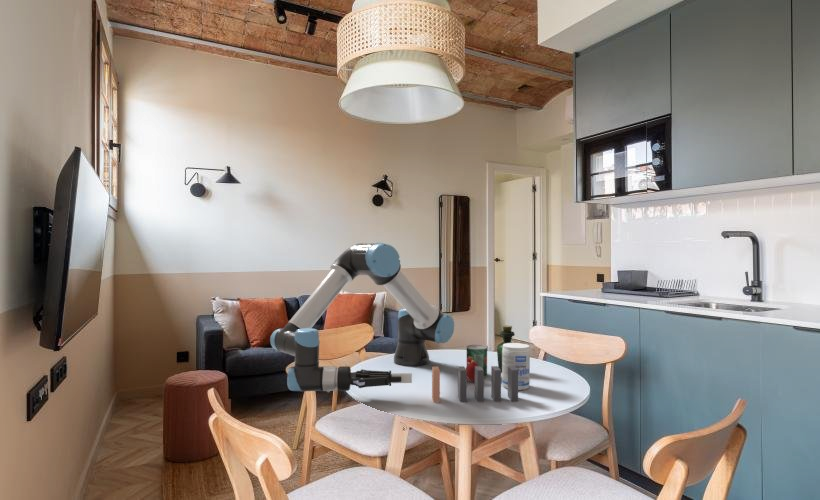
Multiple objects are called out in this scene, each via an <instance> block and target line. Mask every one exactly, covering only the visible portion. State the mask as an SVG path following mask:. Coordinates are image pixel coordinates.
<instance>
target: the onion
mask: <svg viewBox="0 0 820 500" xmlns="http://www.w3.org/2000/svg"><path fill="white" fill-rule="evenodd" d="M475 366H479V365H478V364H476V363H475V362H474V361H473V360H472V361H471V363H470V364H469V365H468V366H467V365H466V366H465V369H466V370H467V380H469V381H470V382H471V383H475Z"/></svg>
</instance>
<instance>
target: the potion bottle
mask: <svg viewBox="0 0 820 500" xmlns="http://www.w3.org/2000/svg"><path fill="white" fill-rule="evenodd" d="M512 329H513V326H512V325H502V330H501V331H500V333H499V336H501V337H502V342H500V343H498V344H497V346H496V352H497V353H496V354H497V355H496V356H497V366H498V367H499V368H500V370H501V374H502V350H503V349H502V348H503V344H505V343H513V342H512V338H513V337H515V332H514V331H512Z"/></svg>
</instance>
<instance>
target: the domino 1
mask: <svg viewBox="0 0 820 500" xmlns="http://www.w3.org/2000/svg"><path fill="white" fill-rule="evenodd" d="M467 380H468V378H467V370H466V366H462V365H461V366H460V365H459V366H457V397H458V400H459V403H467V394H468V393H467V387H468V386H467V385H468V384H467Z"/></svg>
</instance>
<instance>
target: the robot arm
mask: <svg viewBox="0 0 820 500" xmlns="http://www.w3.org/2000/svg"><path fill="white" fill-rule="evenodd" d="M401 268H402V264H401V260H400V254H399V252H398V250H397V249H396V248H395V247H394V246H392V245H390V244H388V243H383V242H376V243H356V244H354V245H351V246H350V247H348V248H346V249H345V250H344V251H343V252H342V253H340V255H339V256H338V257H337V258H336V259H335V260H334V262H333V263H332V264H331V265H330V271H329V272H328V273H327V275H326V276H325V277H324V278H323V279H322V281H321V282H320V283H319V284H318V285H317V287H316V288H315V289H314V290H313V292H312V293H311V294H310V295H309V296H308V298H307V299H306V300H305V301H304V303H303V304H302V305H301V306H300V307H299V309H298V310H297V311H296V312H295V313H294V315H293V316H292V317H291V319H289V321H288V322H287V323H286V324H285V326H284V327H283V328H278V329H275V330H274V331H273V332H272V333H271V335H270V339H269V341H270V346H271V347H272V348H273V349H274V350H276V351H278V352H280V353H281V354H284V353H285V354H287V355H290V356H292V357H294V366H290V367H289V368H288V370H287V379H286V381H287V382H286V383H287V388H288V389H289V390H290V391H292V392H303V393H304V392H327V393H330V392H331V391H333V392H334V391H337V390H338V392H348V391H350V390H351V386H356V387H358V389H363V388H370V387H371V388H372V387H382V386H384V387H385V386H389V387H391V386H392V384H412V383H413V374H412V373H411V372H405V373H404V372H402V373H400V372H396V373H394V372H392V370H389V371H385V370H384V371H383V370H368V369H360V370H356V371H355V372H351V370H352V369H351V367H350V366H339V367H337V365H335V366H320V365H319V364H320V343H321V341H320V333H319V330H318V329H316V328H313V327H314V326H315V325H316V323H317V321H318V320H319V319H320V318H321V317H322V315H323V314H324V313H325V311H327V309H328V307H330V306H331V304H332V302H333V301H334V300H335V299H336V298H337V297H338V295H339V294H340V293H341V292H342V290H343V289H344V288H345V287H346V285H347V284H350V283H352V282H353V281H354V279H356V278H357V277H358V276H368V278H370V279H371V280H372V281H373V282H374V284H375V285H377V286H379V287H380V286H381V287H382V286H383V287H384V289H385V290H387V291H388V292H389V294H390V295H391V296H392V297H393V298H394V299H395V300H396V301H397V303H398V304H399V305H400V306H401V307H402V308H401V309H400V310H398V316H397V346H396V349H395V352H394V355H393V363H395V364H396V365H400V366H405V367H406V366H408V367H412V366H413V367H414V366H424V365H427V364H429V363H430V356H429V352H428V348H427V345H426V341H427V342H433V343H437V344H445V343H448V342H449V341H450V340H451V339H452V337H453V335H454V333H455V332H454V331H455V320H454V318H453V316H451V315H450V314H447V313H443V312H442V311H441V310H440V309H439V308H438V307H437V306H436V305H434V304H430V303H429V302H428V301H427V300H426V298H425V297H424V296H423V295H422V294H421V292H420V291H419V290H418V288H417V287H415V285H413V283H412V282H411V281H410V280H409V278H408V277H407V276H406V275H405V274H404V273H403V271H402V269H401Z"/></svg>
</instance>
